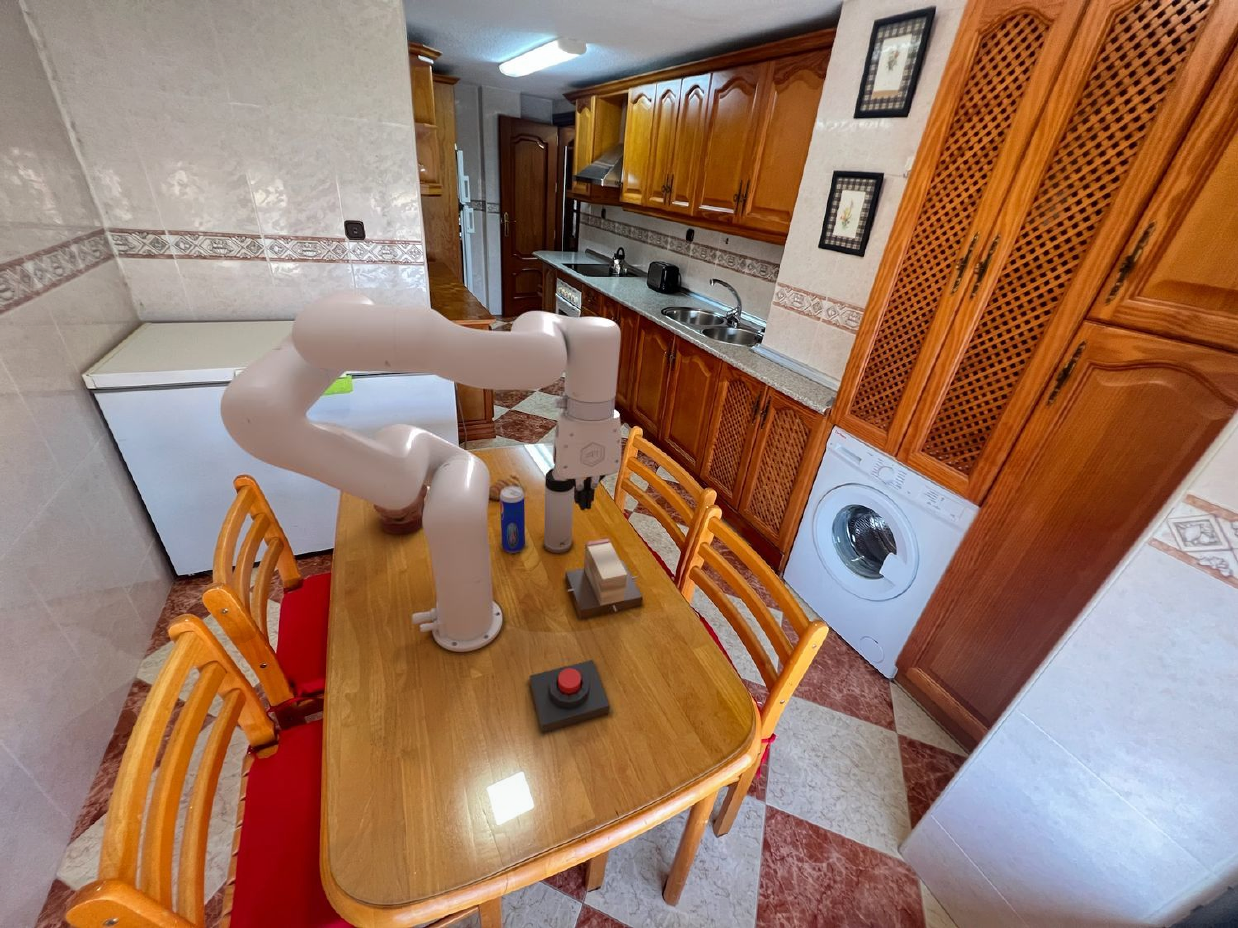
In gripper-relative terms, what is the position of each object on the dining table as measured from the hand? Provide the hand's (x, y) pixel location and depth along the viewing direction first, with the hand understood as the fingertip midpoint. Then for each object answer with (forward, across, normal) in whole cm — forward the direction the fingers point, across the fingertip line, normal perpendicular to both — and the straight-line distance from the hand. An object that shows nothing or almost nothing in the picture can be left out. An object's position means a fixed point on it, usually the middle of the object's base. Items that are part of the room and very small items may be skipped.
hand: (583, 504), depth 83 cm
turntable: (+27, +7, +5) cm, 28 cm away
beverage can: (+27, -8, +24) cm, 37 cm away
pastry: (+27, -6, +46) cm, 54 cm away
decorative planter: (+27, -31, +40) cm, 58 cm away
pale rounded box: (+25, +7, +5) cm, 26 cm away
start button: (+23, -6, -16) cm, 29 cm away
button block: (+27, -6, -16) cm, 32 cm away
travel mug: (+27, +2, +22) cm, 35 cm away
